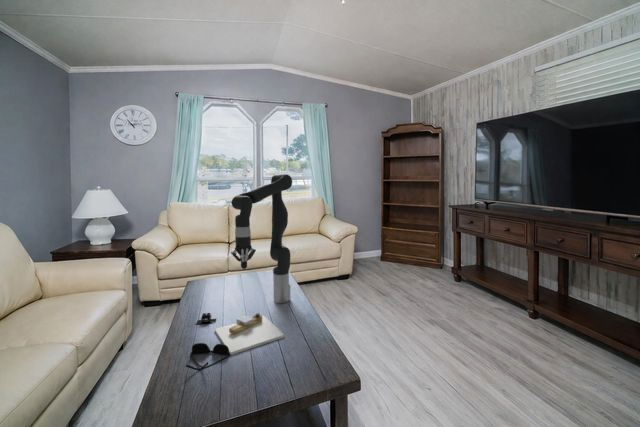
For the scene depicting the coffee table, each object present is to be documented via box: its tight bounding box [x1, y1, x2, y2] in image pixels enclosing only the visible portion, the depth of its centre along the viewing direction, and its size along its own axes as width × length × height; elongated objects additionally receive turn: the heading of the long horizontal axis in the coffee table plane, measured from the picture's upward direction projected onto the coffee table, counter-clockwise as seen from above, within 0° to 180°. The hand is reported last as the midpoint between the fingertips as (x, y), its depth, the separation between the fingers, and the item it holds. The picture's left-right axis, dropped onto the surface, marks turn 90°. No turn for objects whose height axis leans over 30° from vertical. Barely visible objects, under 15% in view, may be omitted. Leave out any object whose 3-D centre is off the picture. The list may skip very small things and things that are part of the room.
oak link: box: [229, 312, 263, 335], centre depth 145 cm, size 18×4×3 cm, turn 143°
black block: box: [195, 312, 217, 326], centre depth 153 cm, size 12×7×5 cm, turn 101°
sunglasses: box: [185, 342, 231, 371], centre depth 118 cm, size 17×14×5 cm
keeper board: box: [214, 314, 285, 356], centre depth 140 cm, size 25×24×6 cm
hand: (244, 268), depth 153 cm, fingers closed
